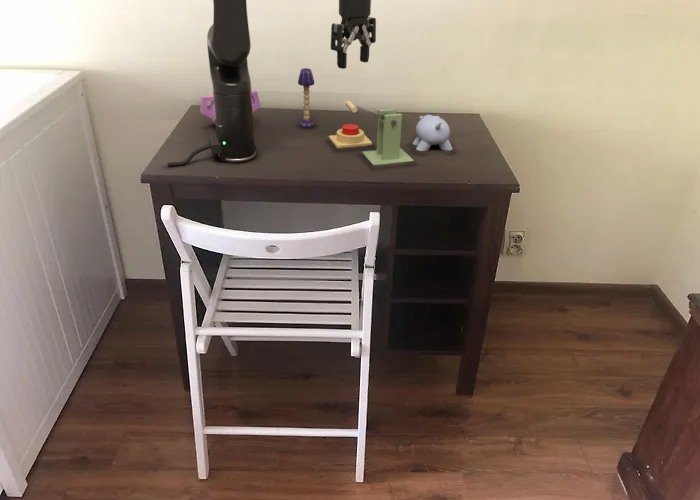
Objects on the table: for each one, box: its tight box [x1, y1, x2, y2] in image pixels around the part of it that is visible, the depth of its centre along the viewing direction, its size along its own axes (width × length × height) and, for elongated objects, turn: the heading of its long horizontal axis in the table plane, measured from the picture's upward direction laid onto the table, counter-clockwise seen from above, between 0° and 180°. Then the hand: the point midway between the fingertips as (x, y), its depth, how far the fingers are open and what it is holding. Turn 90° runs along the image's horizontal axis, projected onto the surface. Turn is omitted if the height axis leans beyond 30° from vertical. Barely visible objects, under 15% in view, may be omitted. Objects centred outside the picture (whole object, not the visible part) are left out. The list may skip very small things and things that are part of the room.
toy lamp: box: [297, 67, 315, 129], centre depth 171 cm, size 5×5×17 cm
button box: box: [328, 128, 373, 149], centre depth 163 cm, size 10×8×4 cm
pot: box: [199, 89, 262, 125], centre depth 171 cm, size 18×17×12 cm
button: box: [341, 123, 360, 135], centre depth 162 cm, size 4×4×2 cm
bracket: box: [361, 108, 415, 166], centre depth 152 cm, size 11×9×13 cm
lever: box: [345, 100, 390, 122], centre depth 147 cm, size 13×5×2 cm, turn 108°
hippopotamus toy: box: [412, 114, 453, 152], centre depth 162 cm, size 11×15×10 cm
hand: (353, 64), depth 147 cm, fingers open, 8 cm apart
